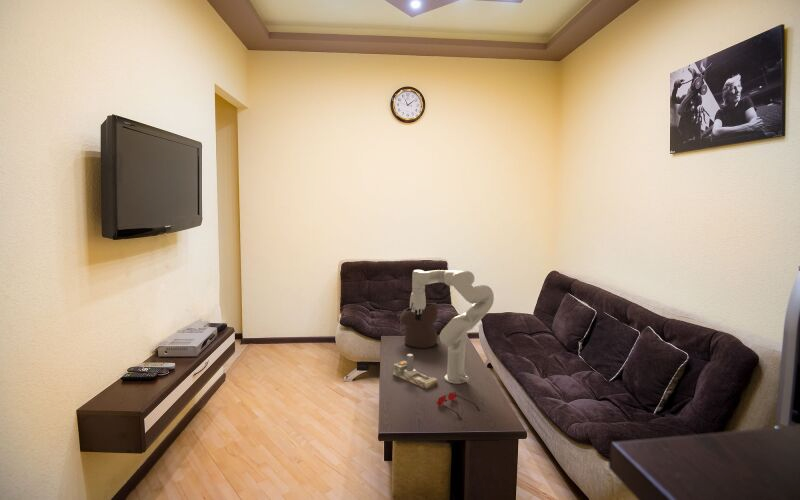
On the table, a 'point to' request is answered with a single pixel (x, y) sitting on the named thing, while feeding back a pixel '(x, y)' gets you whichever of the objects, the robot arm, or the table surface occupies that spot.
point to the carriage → (410, 365)
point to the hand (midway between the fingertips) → (417, 320)
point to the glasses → (451, 397)
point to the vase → (420, 327)
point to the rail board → (414, 376)
